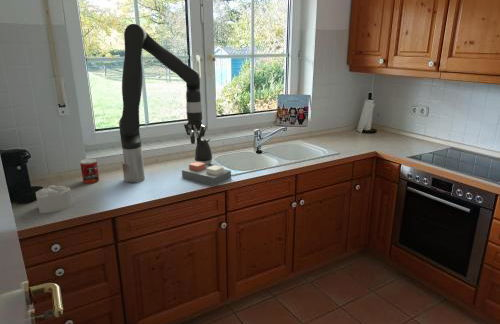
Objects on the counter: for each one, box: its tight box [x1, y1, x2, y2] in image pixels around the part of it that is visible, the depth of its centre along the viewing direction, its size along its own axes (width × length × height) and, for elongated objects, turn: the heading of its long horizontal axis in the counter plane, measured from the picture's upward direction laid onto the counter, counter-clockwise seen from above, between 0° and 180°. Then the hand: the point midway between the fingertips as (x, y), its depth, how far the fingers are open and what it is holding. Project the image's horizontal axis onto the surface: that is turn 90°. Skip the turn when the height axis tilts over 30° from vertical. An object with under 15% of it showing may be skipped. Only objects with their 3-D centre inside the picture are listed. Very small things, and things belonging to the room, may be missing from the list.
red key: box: [188, 161, 206, 171], centre depth 192 cm, size 6×6×4 cm
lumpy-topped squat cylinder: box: [35, 184, 74, 214], centre depth 156 cm, size 10×13×9 cm
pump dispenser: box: [194, 138, 213, 166], centre depth 209 cm, size 10×10×15 cm
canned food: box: [79, 158, 100, 185], centre depth 185 cm, size 8×8×11 cm
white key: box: [207, 164, 224, 176], centre depth 185 cm, size 6×6×4 cm
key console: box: [181, 165, 232, 186], centre depth 189 cm, size 13×22×4 cm, turn 55°
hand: (196, 144), depth 188 cm, fingers open, 3 cm apart
